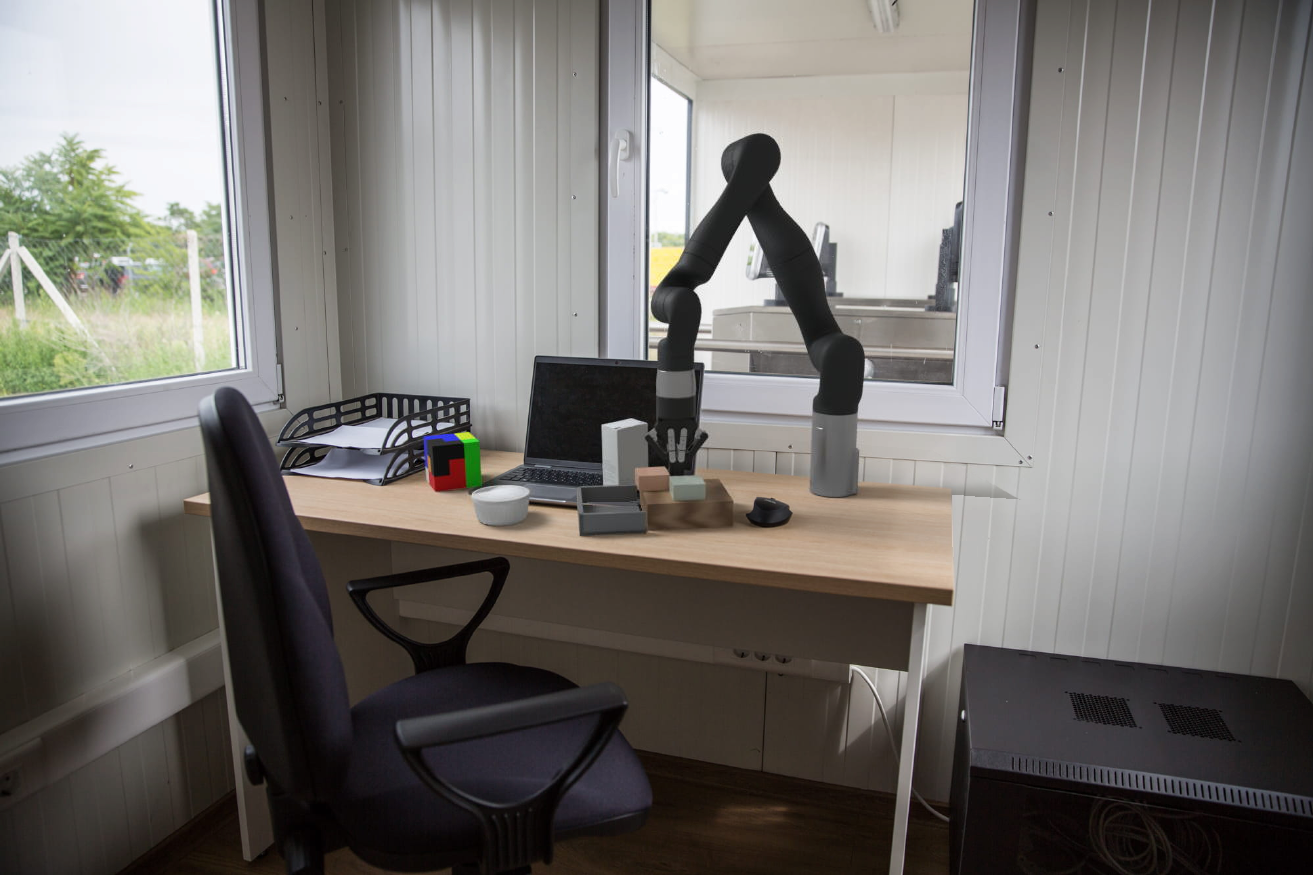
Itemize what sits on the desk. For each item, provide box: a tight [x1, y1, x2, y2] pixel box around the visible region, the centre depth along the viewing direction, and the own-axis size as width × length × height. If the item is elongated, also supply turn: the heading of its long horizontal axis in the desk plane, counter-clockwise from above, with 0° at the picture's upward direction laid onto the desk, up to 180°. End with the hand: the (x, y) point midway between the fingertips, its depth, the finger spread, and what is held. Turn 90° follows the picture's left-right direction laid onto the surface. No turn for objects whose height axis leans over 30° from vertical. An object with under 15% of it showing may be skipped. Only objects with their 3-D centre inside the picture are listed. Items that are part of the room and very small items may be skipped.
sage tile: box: [669, 474, 706, 501], centre depth 164 cm, size 6×6×3 cm
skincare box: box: [601, 418, 649, 490], centre depth 183 cm, size 8×6×15 cm
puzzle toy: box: [423, 431, 483, 493], centre depth 190 cm, size 10×10×10 cm
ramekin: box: [471, 484, 531, 527], centre depth 167 cm, size 11×11×5 cm
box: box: [576, 484, 647, 537], centre depth 167 cm, size 12×18×4 cm, turn 6°
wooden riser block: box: [639, 478, 735, 531], centre depth 168 cm, size 16×15×5 cm
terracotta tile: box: [635, 466, 670, 492], centre depth 170 cm, size 6×6×3 cm
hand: (676, 479), depth 171 cm, fingers closed
